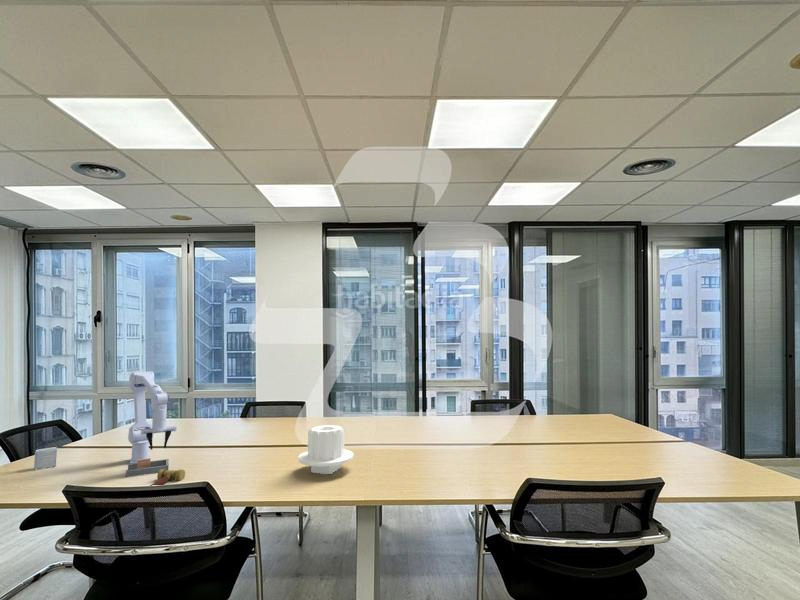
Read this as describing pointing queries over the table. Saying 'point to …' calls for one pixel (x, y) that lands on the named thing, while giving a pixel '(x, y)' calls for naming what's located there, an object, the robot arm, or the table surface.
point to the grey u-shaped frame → (147, 470)
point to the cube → (143, 463)
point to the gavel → (169, 476)
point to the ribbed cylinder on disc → (325, 449)
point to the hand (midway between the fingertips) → (158, 448)
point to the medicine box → (45, 458)
